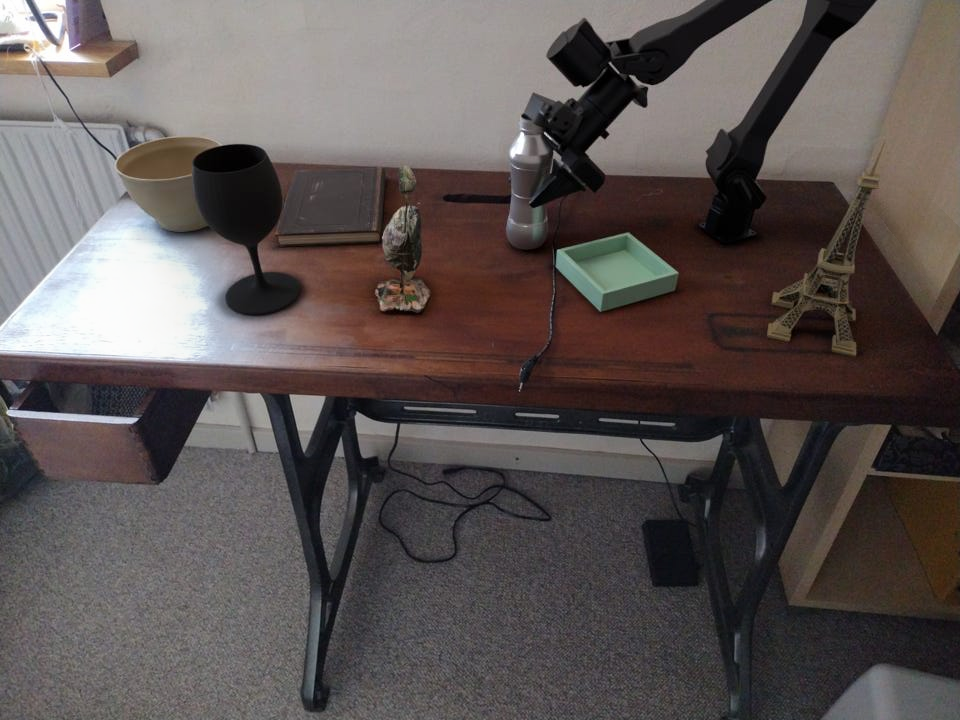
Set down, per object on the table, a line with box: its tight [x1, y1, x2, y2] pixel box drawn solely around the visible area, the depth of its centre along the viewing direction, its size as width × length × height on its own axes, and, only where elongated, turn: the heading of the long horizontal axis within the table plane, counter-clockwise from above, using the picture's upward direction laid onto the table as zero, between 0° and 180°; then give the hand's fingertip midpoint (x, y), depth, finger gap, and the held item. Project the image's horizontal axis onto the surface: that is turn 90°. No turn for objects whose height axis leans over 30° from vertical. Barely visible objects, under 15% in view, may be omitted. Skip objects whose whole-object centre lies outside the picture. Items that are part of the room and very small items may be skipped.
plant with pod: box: [374, 164, 431, 314], centre depth 88 cm, size 8×11×20 cm
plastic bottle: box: [505, 112, 554, 251], centre depth 98 cm, size 6×7×20 cm
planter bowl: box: [114, 135, 223, 233], centre depth 107 cm, size 16×16×11 cm
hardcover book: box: [274, 166, 386, 248], centre depth 112 cm, size 16×23×2 cm
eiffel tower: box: [766, 139, 886, 358], centre depth 81 cm, size 11×11×25 cm
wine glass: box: [192, 143, 302, 317], centre depth 88 cm, size 10×10×20 cm
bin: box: [555, 232, 680, 313], centre depth 96 cm, size 12×12×3 cm
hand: (520, 194), depth 99 cm, fingers open, 8 cm apart
